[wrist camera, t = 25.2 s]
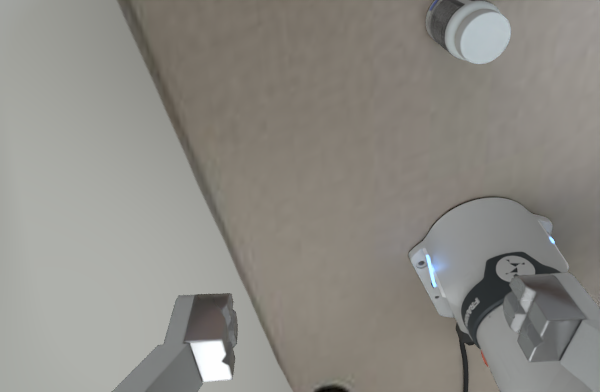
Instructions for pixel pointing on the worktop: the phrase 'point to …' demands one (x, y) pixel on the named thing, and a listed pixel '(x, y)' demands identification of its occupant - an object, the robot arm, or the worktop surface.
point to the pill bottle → (469, 29)
